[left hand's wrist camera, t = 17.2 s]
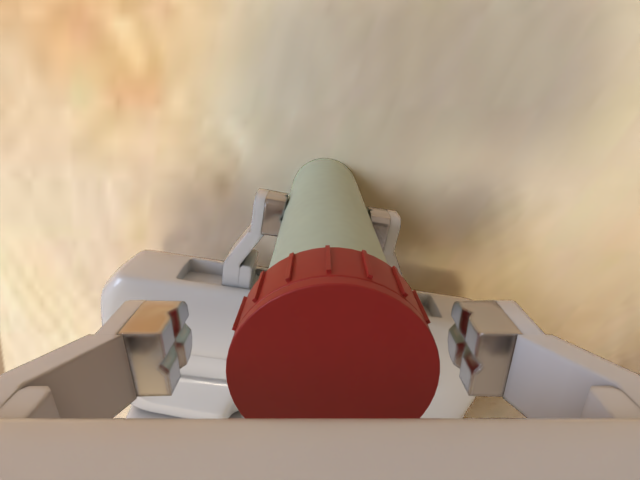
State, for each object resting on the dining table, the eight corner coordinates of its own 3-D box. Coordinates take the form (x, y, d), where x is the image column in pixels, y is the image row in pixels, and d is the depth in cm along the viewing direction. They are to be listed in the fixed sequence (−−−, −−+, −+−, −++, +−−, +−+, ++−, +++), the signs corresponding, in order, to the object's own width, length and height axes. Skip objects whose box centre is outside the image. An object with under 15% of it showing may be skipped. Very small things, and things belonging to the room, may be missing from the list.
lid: (277, 415, 11) (269, 476, 10) (208, 276, 10) (184, 318, 8) (438, 374, 11) (461, 431, 9) (396, 218, 9) (415, 250, 7)
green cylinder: (279, 197, 24) (214, 375, 9) (316, 144, 23) (312, 250, 8) (331, 233, 25) (348, 446, 10) (369, 183, 24) (454, 343, 9)
